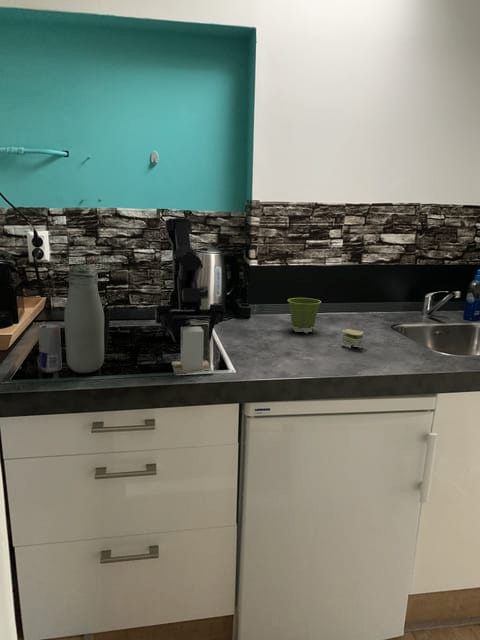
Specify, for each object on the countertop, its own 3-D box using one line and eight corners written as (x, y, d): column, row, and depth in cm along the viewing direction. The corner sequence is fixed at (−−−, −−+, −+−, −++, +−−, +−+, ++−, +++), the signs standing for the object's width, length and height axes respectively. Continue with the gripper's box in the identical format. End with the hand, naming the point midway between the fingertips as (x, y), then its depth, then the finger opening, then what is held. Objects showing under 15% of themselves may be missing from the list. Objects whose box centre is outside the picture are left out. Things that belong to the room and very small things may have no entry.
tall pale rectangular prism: (180, 364, 143) (180, 326, 141) (200, 363, 144) (200, 326, 142) (182, 370, 138) (183, 331, 136) (203, 369, 139) (203, 331, 137)
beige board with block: (171, 364, 145) (171, 348, 144) (207, 363, 147) (207, 347, 146) (174, 376, 136) (175, 360, 135) (212, 374, 138) (213, 358, 137)
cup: (116, 348, 158) (115, 310, 156) (102, 355, 151) (100, 315, 149) (94, 345, 161) (93, 307, 158) (79, 352, 154) (77, 312, 151)
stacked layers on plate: (331, 347, 168) (332, 331, 166) (346, 342, 174) (347, 326, 173) (358, 354, 161) (360, 337, 160) (373, 349, 167) (374, 332, 166)
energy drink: (43, 366, 140) (41, 323, 138) (64, 366, 141) (62, 323, 138) (38, 372, 135) (35, 328, 132) (59, 372, 136) (56, 328, 133)
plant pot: (324, 330, 187) (326, 300, 185) (310, 337, 178) (312, 305, 175) (295, 325, 193) (296, 296, 191) (280, 332, 184) (281, 300, 181)
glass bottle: (70, 380, 131) (65, 269, 124) (63, 367, 140) (58, 263, 133) (109, 374, 135) (106, 268, 129) (100, 363, 144) (97, 262, 138)
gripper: (155, 275, 137) (158, 326, 129) (225, 275, 141) (231, 324, 133) (154, 298, 147) (156, 347, 139) (219, 297, 151) (225, 345, 143)
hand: (192, 340), depth 138 cm, fingers open, 9 cm apart
